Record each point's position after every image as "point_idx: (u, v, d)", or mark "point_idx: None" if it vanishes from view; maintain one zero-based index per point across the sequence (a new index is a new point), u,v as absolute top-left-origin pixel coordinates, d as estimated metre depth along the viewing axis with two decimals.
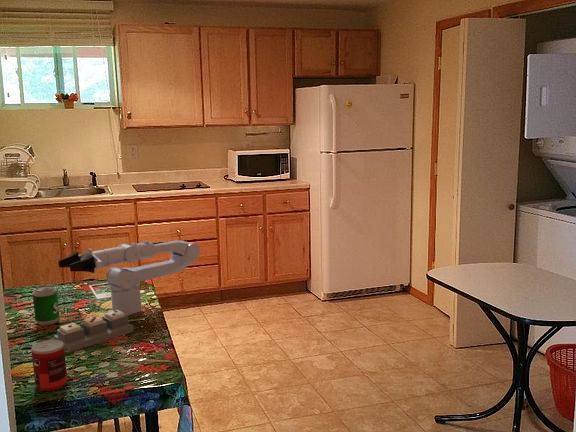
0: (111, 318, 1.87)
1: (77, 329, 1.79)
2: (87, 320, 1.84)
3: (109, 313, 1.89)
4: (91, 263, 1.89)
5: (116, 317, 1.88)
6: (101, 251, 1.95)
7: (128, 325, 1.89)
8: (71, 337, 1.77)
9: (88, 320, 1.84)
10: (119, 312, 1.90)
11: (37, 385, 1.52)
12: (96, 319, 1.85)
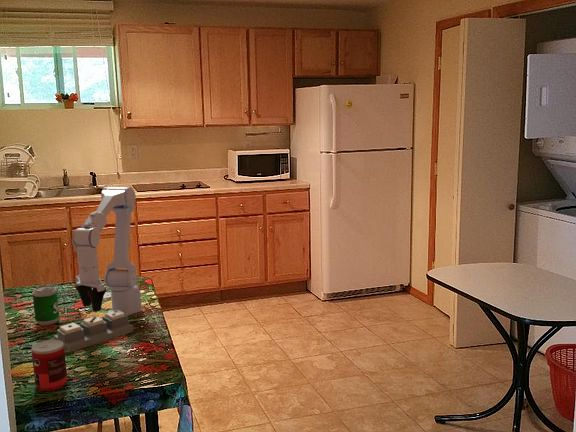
0: (111, 318, 1.87)
1: (77, 329, 1.79)
2: (87, 320, 1.84)
3: (109, 313, 1.89)
4: None
5: (116, 317, 1.88)
6: (82, 272, 1.79)
7: (128, 325, 1.89)
8: (71, 337, 1.77)
9: (88, 320, 1.84)
10: (119, 312, 1.90)
11: (37, 385, 1.52)
12: (96, 319, 1.85)
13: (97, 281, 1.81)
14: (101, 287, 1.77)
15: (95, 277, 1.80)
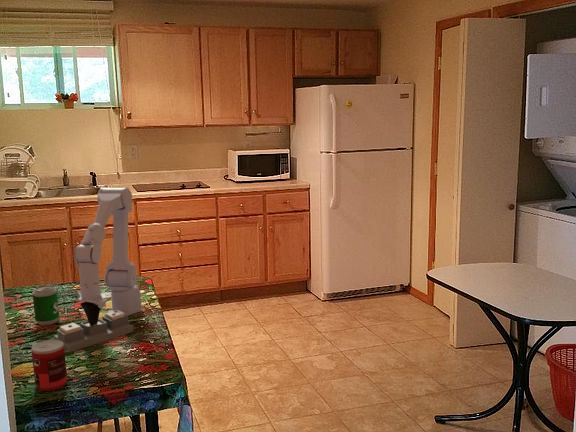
0: (111, 318, 1.87)
1: (77, 329, 1.79)
2: (87, 325, 1.84)
3: (109, 313, 1.89)
4: None
5: (116, 317, 1.88)
6: (83, 288, 1.80)
7: (128, 325, 1.89)
8: (71, 337, 1.77)
9: (88, 325, 1.84)
10: (119, 312, 1.90)
11: (37, 385, 1.52)
12: (96, 324, 1.85)
13: (98, 297, 1.82)
14: (102, 303, 1.78)
15: (96, 293, 1.81)
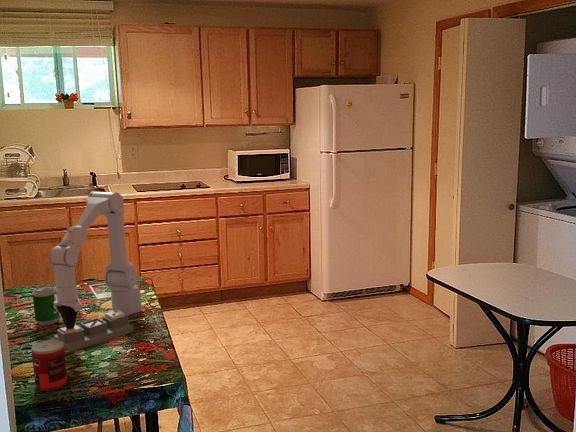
0: (111, 318, 1.87)
1: None
2: (87, 325, 1.84)
3: (109, 313, 1.89)
4: None
5: (116, 317, 1.88)
6: (59, 291, 1.74)
7: (128, 325, 1.89)
8: (71, 337, 1.77)
9: (88, 325, 1.84)
10: (119, 312, 1.90)
11: (37, 385, 1.52)
12: (96, 324, 1.85)
13: (75, 300, 1.76)
14: (78, 307, 1.73)
15: (73, 296, 1.76)
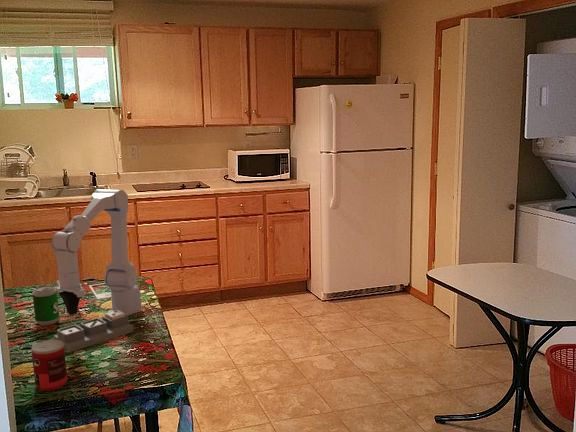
0: (111, 318, 1.87)
1: None
2: (87, 325, 1.84)
3: (109, 313, 1.89)
4: None
5: (116, 317, 1.88)
6: (61, 277, 1.74)
7: (128, 325, 1.89)
8: (71, 337, 1.77)
9: (88, 325, 1.84)
10: (119, 312, 1.90)
11: (37, 385, 1.52)
12: (96, 324, 1.85)
13: (77, 286, 1.76)
14: (81, 293, 1.73)
15: (75, 282, 1.76)
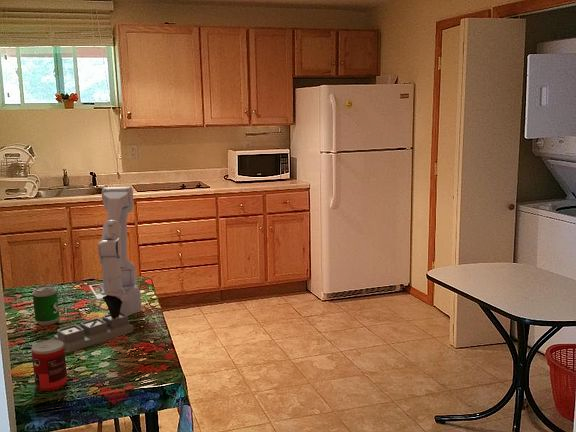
0: None
1: None
2: (87, 325, 1.84)
3: (110, 317, 1.90)
4: None
5: None
6: (106, 282, 1.85)
7: (128, 325, 1.89)
8: (71, 337, 1.77)
9: (88, 325, 1.84)
10: (119, 316, 1.91)
11: (37, 385, 1.52)
12: (96, 324, 1.85)
13: (120, 291, 1.87)
14: (125, 297, 1.83)
15: (118, 287, 1.86)
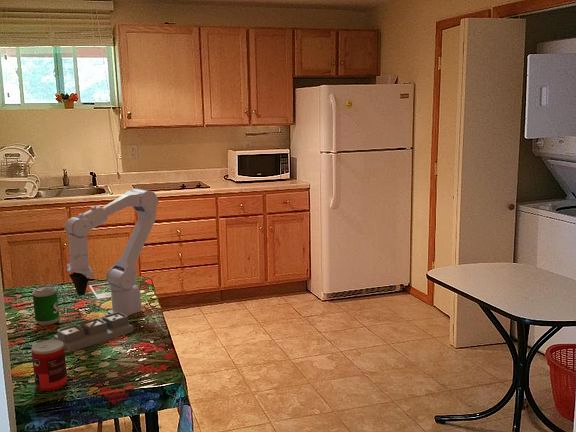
0: None
1: None
2: (87, 325, 1.84)
3: (110, 318, 1.90)
4: None
5: None
6: (72, 259, 1.89)
7: (128, 325, 1.89)
8: (71, 337, 1.77)
9: (88, 325, 1.84)
10: (119, 316, 1.91)
11: (37, 385, 1.52)
12: (96, 324, 1.85)
13: (86, 268, 1.91)
14: (90, 274, 1.87)
15: (85, 265, 1.90)
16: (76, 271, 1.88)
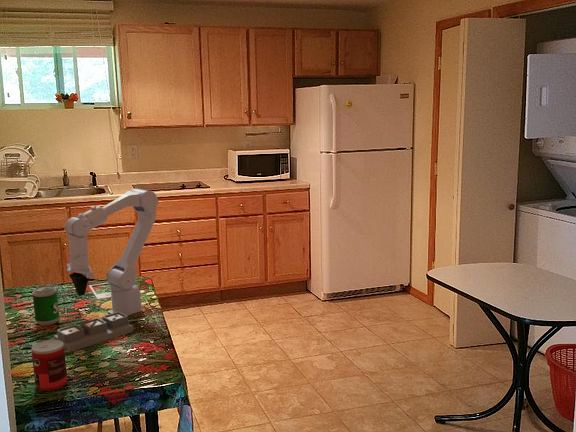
0: None
1: None
2: (87, 325, 1.84)
3: (110, 318, 1.90)
4: None
5: None
6: (72, 259, 1.89)
7: (128, 325, 1.89)
8: (71, 337, 1.77)
9: (88, 325, 1.84)
10: (119, 316, 1.91)
11: (37, 385, 1.52)
12: (96, 324, 1.85)
13: (86, 268, 1.91)
14: (90, 274, 1.87)
15: (85, 265, 1.90)
16: (76, 271, 1.88)
